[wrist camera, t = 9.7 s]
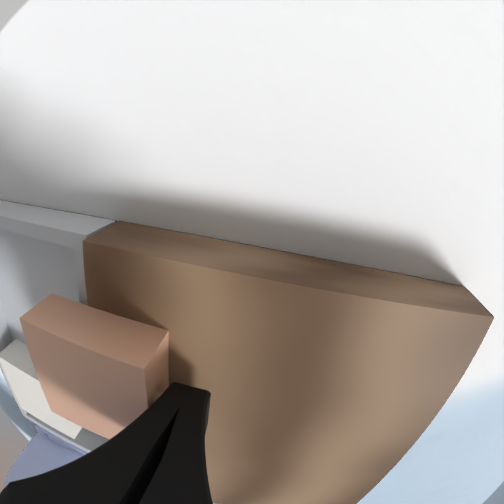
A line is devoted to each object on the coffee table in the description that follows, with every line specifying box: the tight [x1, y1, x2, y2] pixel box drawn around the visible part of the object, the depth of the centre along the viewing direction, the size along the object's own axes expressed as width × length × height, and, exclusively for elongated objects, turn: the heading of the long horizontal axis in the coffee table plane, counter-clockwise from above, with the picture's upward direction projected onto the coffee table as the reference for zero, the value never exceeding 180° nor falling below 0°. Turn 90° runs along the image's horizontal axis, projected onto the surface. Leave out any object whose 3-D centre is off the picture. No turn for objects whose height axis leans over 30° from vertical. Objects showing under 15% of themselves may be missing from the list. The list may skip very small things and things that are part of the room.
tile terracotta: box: [19, 293, 169, 439], centre depth 9 cm, size 5×5×2 cm
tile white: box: [0, 339, 82, 439], centre depth 14 cm, size 5×5×2 cm
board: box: [82, 221, 494, 504], centre depth 12 cm, size 14×16×2 cm
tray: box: [0, 200, 116, 453], centre depth 13 cm, size 10×16×2 cm, turn 171°
